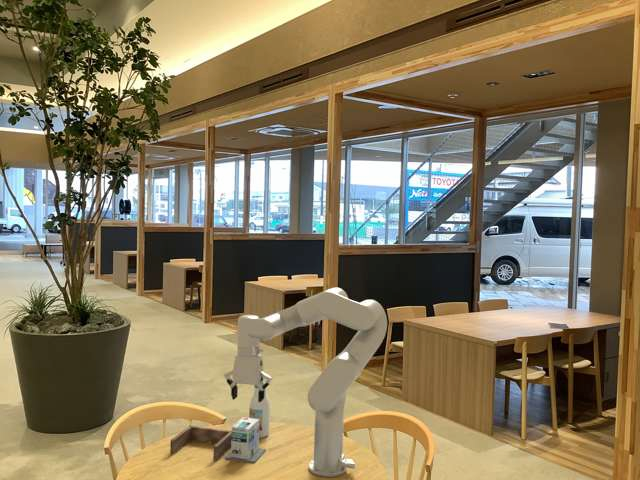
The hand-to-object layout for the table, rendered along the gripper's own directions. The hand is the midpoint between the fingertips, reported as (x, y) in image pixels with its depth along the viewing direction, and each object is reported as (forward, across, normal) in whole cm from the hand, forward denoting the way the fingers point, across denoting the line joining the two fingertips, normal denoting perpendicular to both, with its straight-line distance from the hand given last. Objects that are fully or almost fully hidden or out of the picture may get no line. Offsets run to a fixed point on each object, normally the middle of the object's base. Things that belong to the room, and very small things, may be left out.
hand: (247, 399), depth 204 cm
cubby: (+19, +17, +1) cm, 25 cm away
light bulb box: (+19, +1, 0) cm, 19 cm away
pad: (+20, +1, 0) cm, 20 cm away
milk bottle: (+20, +3, -19) cm, 28 cm away
